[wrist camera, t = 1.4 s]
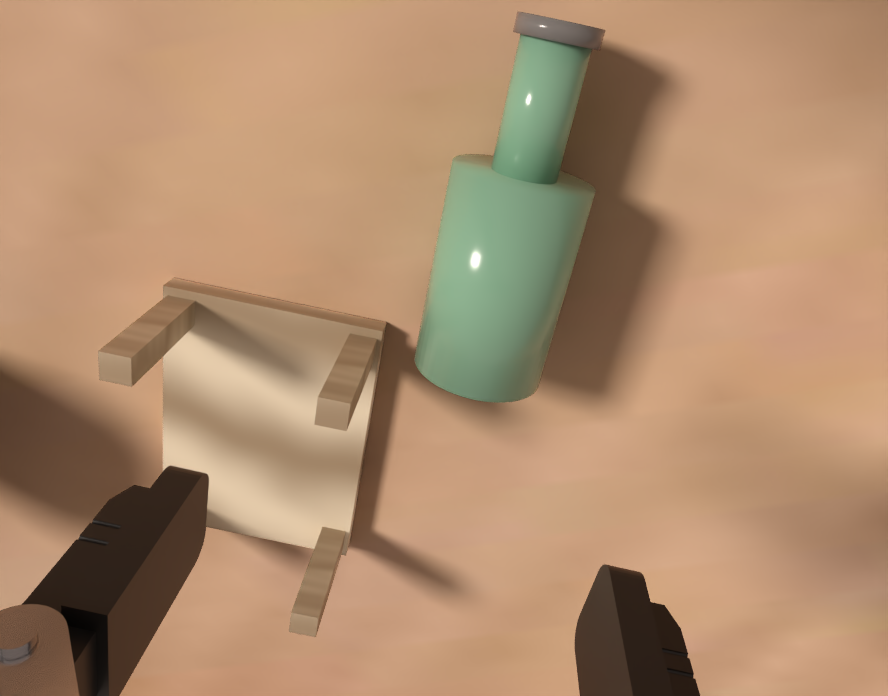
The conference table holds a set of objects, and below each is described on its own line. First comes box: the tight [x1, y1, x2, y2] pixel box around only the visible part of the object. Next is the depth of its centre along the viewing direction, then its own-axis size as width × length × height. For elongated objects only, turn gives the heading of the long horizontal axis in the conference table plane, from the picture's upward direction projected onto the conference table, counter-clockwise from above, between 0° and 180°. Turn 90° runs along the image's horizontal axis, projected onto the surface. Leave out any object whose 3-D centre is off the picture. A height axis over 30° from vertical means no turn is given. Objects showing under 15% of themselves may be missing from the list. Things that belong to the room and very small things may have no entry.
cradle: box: [98, 278, 387, 637], centre depth 30 cm, size 13×10×6 cm
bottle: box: [415, 12, 605, 402], centre depth 25 cm, size 13×5×5 cm, turn 169°
